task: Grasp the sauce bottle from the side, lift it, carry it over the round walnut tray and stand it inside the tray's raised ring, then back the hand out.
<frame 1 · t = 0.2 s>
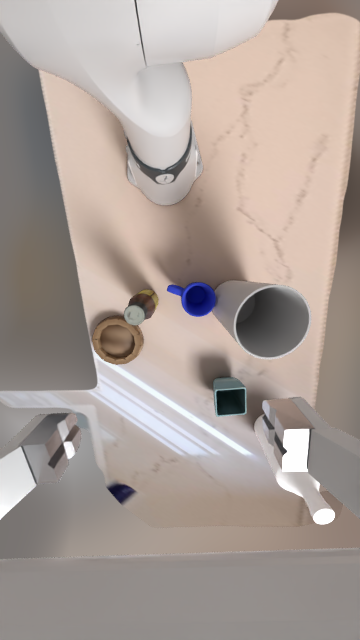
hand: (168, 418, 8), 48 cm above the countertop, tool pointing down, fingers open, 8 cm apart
sauce bottle: (149, 300, 55), on the countertop
bottle: (270, 425, 65), on the countertop
flower pot: (223, 383, 61), on the countertop
tray: (119, 339, 58), on the countertop
mug: (189, 291, 54), on the countertop
cylinder vase: (231, 301, 55), on the countertop
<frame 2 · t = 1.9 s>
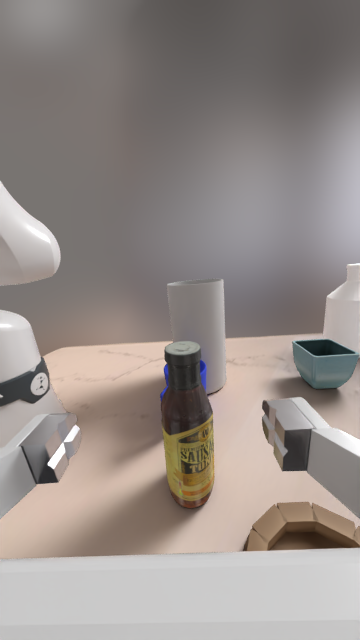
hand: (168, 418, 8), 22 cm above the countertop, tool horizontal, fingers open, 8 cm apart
sauce bottle: (192, 483, 26), on the countertop
bottle: (345, 350, 57), on the countertop
flower pot: (318, 383, 44), on the countertop
tray: (341, 633, 14), on the countertop
mug: (184, 417, 37), on the countertop
cylinder vase: (201, 380, 48), on the countertop
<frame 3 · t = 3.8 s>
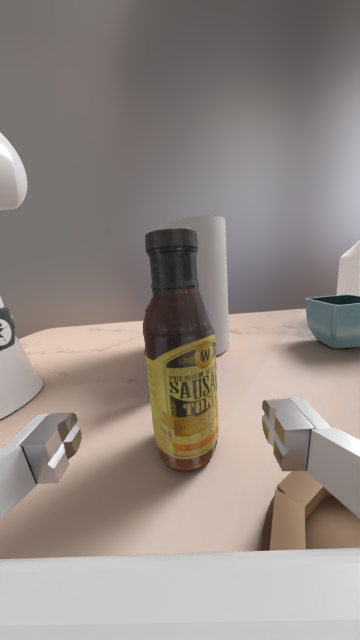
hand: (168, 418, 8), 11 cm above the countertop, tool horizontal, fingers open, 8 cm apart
sauce bottle: (189, 444, 19), on the countertop
flower pot: (336, 344, 37), on the countertop
cylinder vase: (200, 348, 42), on the countertop
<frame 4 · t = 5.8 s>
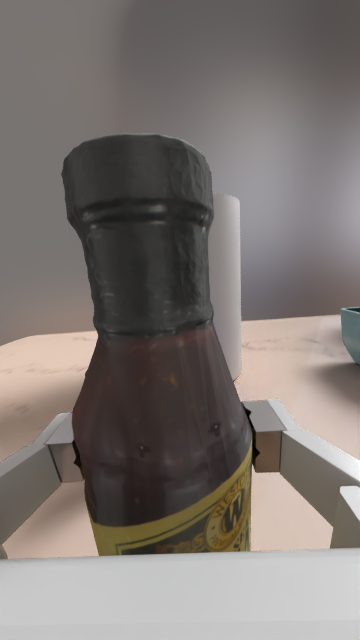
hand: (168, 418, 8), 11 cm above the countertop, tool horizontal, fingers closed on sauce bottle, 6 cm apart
sauce bottle: (189, 602, 10), on the countertop, touching gripper
cylinder vase: (204, 370, 33), on the countertop
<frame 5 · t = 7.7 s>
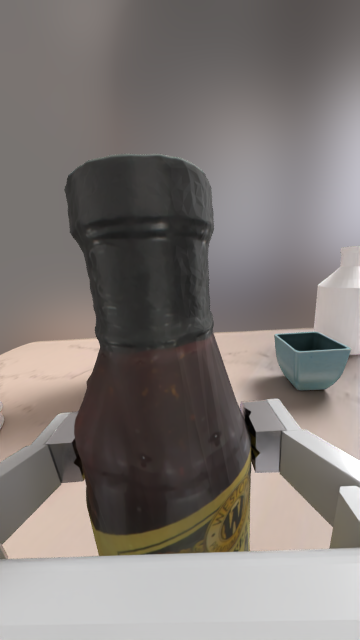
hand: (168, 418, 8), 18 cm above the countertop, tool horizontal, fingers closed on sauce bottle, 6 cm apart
sauce bottle: (189, 605, 10), point 6 cm above the countertop, touching gripper
bottle: (337, 346, 51), on the countertop
flower pot: (303, 383, 37), on the countertop
when the fingers open (13 cm above the countertop, at t = 9.7 s): sauce bottle stays where it is, resting on tray.
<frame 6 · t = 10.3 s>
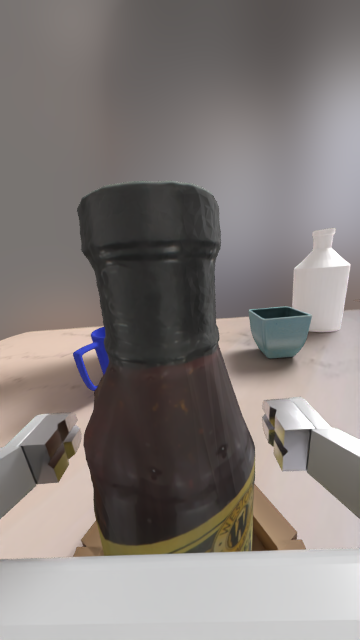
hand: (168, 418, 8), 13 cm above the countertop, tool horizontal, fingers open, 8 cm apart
sauce bottle: (191, 608, 10), point 1 cm above the countertop, touching tray
bottle: (314, 326, 54), on the countertop
flower pot: (275, 353, 40), on the countertop
tray: (190, 613, 11), on the countertop
mug: (118, 386, 33), on the countertop
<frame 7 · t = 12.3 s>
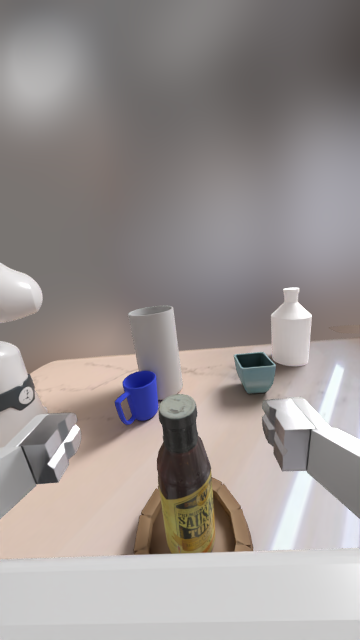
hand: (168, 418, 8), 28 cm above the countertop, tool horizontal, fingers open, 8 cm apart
sauce bottle: (192, 538, 24), point 1 cm above the countertop, touching tray
bottle: (289, 359, 68), on the countertop
flower pot: (253, 388, 54), on the countertop
tray: (192, 541, 25), on the countertop
mug: (141, 418, 47), on the countertop
cylinder vase: (163, 388, 59), on the countertop
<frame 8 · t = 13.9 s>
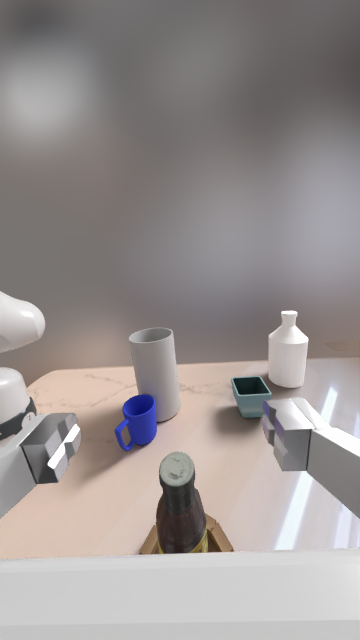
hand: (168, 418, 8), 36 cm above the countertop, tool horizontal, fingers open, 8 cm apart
sauce bottle: (187, 579, 26), point 1 cm above the countertop, touching tray
bottle: (285, 378, 69), on the countertop
flower pot: (249, 412, 55), on the countertop
tray: (187, 581, 26), on the countertop
mug: (139, 442, 49), on the countertop
cylinder vase: (161, 408, 60), on the countertop
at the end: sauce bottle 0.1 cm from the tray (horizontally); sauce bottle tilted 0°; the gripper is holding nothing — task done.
